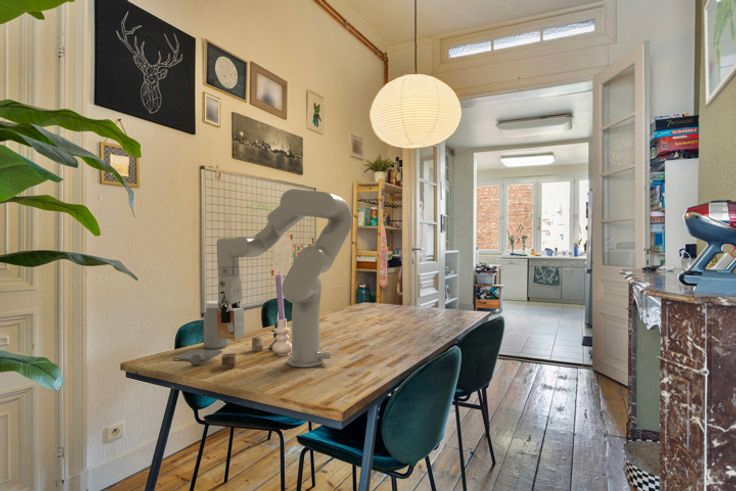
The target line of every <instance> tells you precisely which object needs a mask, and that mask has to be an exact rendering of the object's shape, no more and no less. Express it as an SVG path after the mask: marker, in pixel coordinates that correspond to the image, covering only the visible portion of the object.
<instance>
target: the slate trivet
mask: <svg viewBox="0 0 736 491" xmlns="http://www.w3.org/2000/svg"><path fill="white" fill-rule="evenodd" d="M222 353H223V350H219V349H199V348H198V349H197V348H193V349H190V350H188V351H185V352H183V353H181V354H179V355H177V356H175V357H173V359H179V360H178V361H180V360H190V358H191V357H192V356H193V355H195V354H197V355H200V356H201V361H205V362H207V361H209V360H211V359H213V358H215V357H216V356H218V355H220V354H222ZM173 359H172V360H173Z"/></svg>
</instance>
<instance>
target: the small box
mask: <svg viewBox="0 0 736 491" xmlns="http://www.w3.org/2000/svg"><path fill="white" fill-rule="evenodd" d="M229 311H230V323H221V312H220V309H219V310H217V334H218V338H223V339H229V340H233V341H234V340H237V339H241V338H244V337H245V336H246V335H245V334H246V333H245V308H244V307H240V308H232V307H229Z"/></svg>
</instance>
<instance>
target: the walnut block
mask: <svg viewBox="0 0 736 491" xmlns="http://www.w3.org/2000/svg"><path fill="white" fill-rule="evenodd" d="M236 355H237V354H236V353H223V355H222V356H221V370H229V369H232V368H234V369H235V367H236V365H237V364H236V363H237V362H236V361H237V360H236V357H237V356H236Z"/></svg>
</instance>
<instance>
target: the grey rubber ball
mask: <svg viewBox="0 0 736 491" xmlns="http://www.w3.org/2000/svg"><path fill="white" fill-rule="evenodd" d="M189 362H190V364H191V365H193V366H198V365H200V364H201V356H200V355H197V354H195V355H193V356H192V357H191V358H190V361H189Z"/></svg>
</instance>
